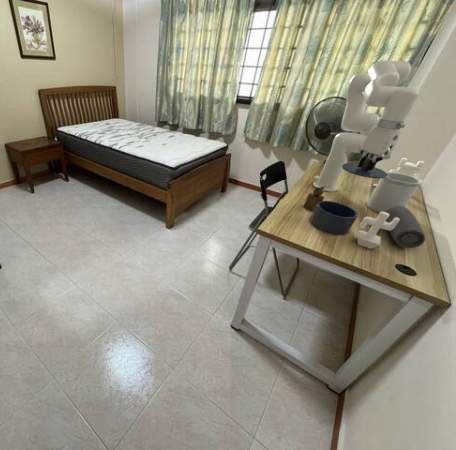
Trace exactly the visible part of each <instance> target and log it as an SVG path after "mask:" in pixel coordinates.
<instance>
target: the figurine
mask: <svg viewBox="0 0 456 450" xmlns="http://www.w3.org/2000/svg"><path fill="white" fill-rule="evenodd" d="M388 217H389V214H388V213H386V212H378V215H377V218H374V217H370V216H365V217H364V218H363V219H362V220H361V222H360V224H359V225H358V228H359V230H358V233H357V245H358V246H361V247H364V248H367V249H370V250H371V249H374V248H376V247H379V246H381V240H382V239H381V238H382V237H381V235H377V233H378V232H379V231H380V229H383V230H386V231H388V232H390V230H393V229H394V227H395V226H396V225H397V223H398V222H399V220H400V219H399V218H397V217H396V218H394V219H393V221H392V222H391V223H388V222H386V219H387V218H388ZM367 225H369V226H371V227H370V228H369V230H368V232H367V231H364V230H363V229H365V227H366V226H367Z"/></svg>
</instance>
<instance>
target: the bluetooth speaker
mask: <svg viewBox="0 0 456 450" xmlns="http://www.w3.org/2000/svg"><path fill="white" fill-rule="evenodd" d="M386 213H388V214H389V217H388V218H387V219H386V220H385V222H388V223H391V222H392V221H393V219H394V218H396V217H397V218H399V219H400V220H399V222H398V223H397V225H396V226H395V227H394V229H393V230H390V231H389V233H390V236H391V238H392V239H393V241H394V242H395V243H396V244H397V245H398V246H399V247H402V248H406V249H415V248H418V247H420V246H422V245H423V244H424V243H425V241H426V235H425V233H424V230H423V228H422V226H421V224H420V223H419V221H418V220H417V217H415V215H414V214H413V213H412V212H411V210H410V209H408V208H407V207H406V206H405V207H403V206H395V207H392V208H390V209H388V210H387V211H386Z"/></svg>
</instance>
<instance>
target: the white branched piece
mask: <svg viewBox="0 0 456 450" xmlns="http://www.w3.org/2000/svg"><path fill="white" fill-rule="evenodd" d="M424 165H425V161H423V160H418V161H417V162H416V164H414V163H413V162H409V161H408V158H406V157H402V158H401V159H400V161H399V163H398V164H397V168H391V169H390V170H388V172H398V173H403V174H408V175H411V176H414V177H417V178H419V179H420V176H421V174H420V173H416V172H421V170H422V168H423V167H424ZM377 184H378V183H374V184H373V185H372V186H373V187H376V186H377Z"/></svg>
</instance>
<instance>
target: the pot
mask: <svg viewBox="0 0 456 450" xmlns="http://www.w3.org/2000/svg"><path fill="white" fill-rule="evenodd" d="M312 212H313V213H312V214H311V217H310V219H309V221H310V224H311V226H313V227H314V228H316V229H318V230H320V231H321V232H324V233H326V234H331V235H337V236H339V235H340V236H342V235H346V234H348V233H349V232H350V230H351V228H352V226H354V223H355V221H356V220H357V218H358V216H359V213H358V212H357V210H355V209H354V208H352V207H351V206H349V205H347V204H344V203H341V202H337V201H331V200H323V201H321V202H318V204H317V206H316V208H315V210H314V211H312Z"/></svg>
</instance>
